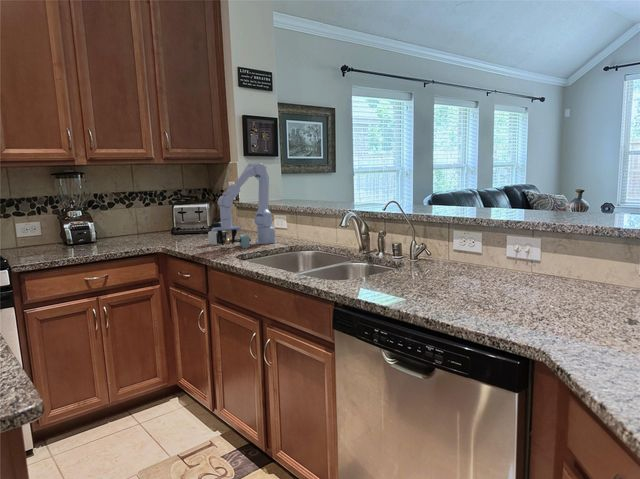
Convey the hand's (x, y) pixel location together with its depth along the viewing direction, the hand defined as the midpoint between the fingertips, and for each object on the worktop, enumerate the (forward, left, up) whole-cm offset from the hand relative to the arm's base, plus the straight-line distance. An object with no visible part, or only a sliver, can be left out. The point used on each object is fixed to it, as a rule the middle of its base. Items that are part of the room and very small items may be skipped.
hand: (227, 244), depth 243 cm
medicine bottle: (+4, -17, -2) cm, 18 cm away
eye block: (-9, -3, -2) cm, 10 cm away
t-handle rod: (-6, -3, 0) cm, 7 cm away
